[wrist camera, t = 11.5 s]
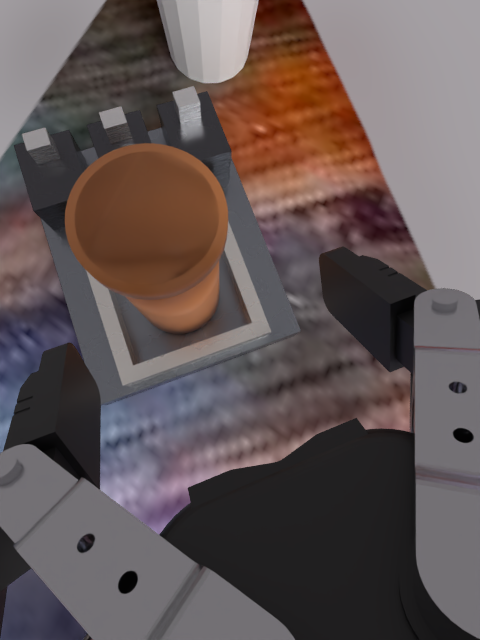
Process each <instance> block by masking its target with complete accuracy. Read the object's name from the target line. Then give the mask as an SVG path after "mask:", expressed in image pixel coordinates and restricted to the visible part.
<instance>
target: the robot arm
mask: <svg viewBox="0 0 480 640" xmlns="http://www.w3.org/2000/svg"><path fill="white" fill-rule="evenodd" d="M319 265H320V274H321V283H322V292H323V299H324V302H325V305H326V307H327V309H328V310H329V312H330V313H331V314H332V315H333V316H334V317H335V318H336V319H337V320H338V321H339V322H340V323H341V324H342V325H343V326H344V327H345V328H346V329H347V330H348V331H349V332H350V333H351V334H352V335H353V336H354V337H355V338H356V339H357V340H358V341H359V342H360V343H361V344H362V345H363V346H364V347H365V348H366V349H367V350H368V351H369V352H370V353H371V354H372V355H373V356H374V357H375V358H376V359H377V360H378V361H379V362H380V363H381V364H382V365H383V366H384V367H385V368H386V369H387V370H388V371H389V372H392V371H394V370H397V369H399V368H402V367H405V368H406V369H408V370H409V371H410V372H411V377H410V432H406V431H401V430H395V429H369V430H365V429H364V427H363V426H362V425H361V423H360V422H359V421H358V420H357V418H355V419H353V420H350V421H348V422H346V423H343V424H341V425H338V426H336V427H333V428H331V429H329V430H326V431H324V432H321V433H319V434H317V435H315V436H314V437H313V438H311V439H310V440H308V441H307V442H306V443H304V444H303V445H302V446H300V447H299V448H297V449H296V450H295V451H293V452H292V453H291V454H289V455H288V456H287V457H285V458H284V459H282V460H281V461H278V462H275V463H269V464H263V465H257V466H251V467H245V468H239V469H233V470H230V471H227V472H225V473H222V474H220V475H217V476H215V477H213V478H210V479H208V480H205V481H203V482H201V483H198V484H196V485H193V486H191V487H188V491H189V496H190V501H191V503H190V504H188V505H187V506H186V507H184V508H183V509H182V510H181V511H180V512H179V513H178V514H176V515H175V516H174V518H173V519H172V520H171V521H170V522H169V523H168V524H167V525H166V527H165V528H164V529H163V531H162V532H161V533H160V535H158V534H157V533H156V532H155V531H153V530H152V529H151V528H149V527H148V526H147V525H145V524H144V523H143V522H141V521H140V520H139V519H137V518H136V517H135V516H133V515H132V514H131V513H130V512H128V511H127V510H126V509H124V508H123V507H122V506H120V505H119V504H118V503H116V502H115V501H114V500H112V499H111V498H110V497H109V496H107V495H106V494H105V493H103V492H102V491H101V490H100V415H101V398H100V392H99V389H98V386H97V384H96V381H95V380H94V378H93V376H92V374H91V373H90V371H89V369H88V368H87V366H86V364H85V363H84V361H83V359H82V358H81V356H80V354H79V353H78V351H77V349H76V348H75V346H74V345H73V344H72V343H67V344H64V345H61V346H58V347H55V348H52V349H49V350H46V351H44V352H43V354H42V358H41V363H40V367H39V371H38V372H35V373H32V374H31V375H30V376H29V377H28V379H27V380H26V381H25V383H24V384H23V385H22V387H21V388H20V392H19V395H18V399H17V404H16V406H15V410H14V416H13V417H12V421H11V425H10V428H9V432H8V435H7V439H6V443H5V446H4V450H3V452H2V453H0V636H1V628H2V621H3V614H4V607H5V599H6V592H7V586H8V585H9V584H11V583H12V582H13V581H15V580H16V579H17V578H19V577H20V576H21V575H23V574H24V573H25V572H27V571H28V570H29V569H31V568H32V569H33V570H34V572H35V573H36V574H37V575H38V576H39V577H40V579H41V580H42V581H43V582H44V583H45V584H46V586H47V587H48V588H49V589H50V590H51V591H52V593H53V594H54V595H55V596H56V597H57V598H58V599H59V601H60V602H61V603H62V604H63V605H64V606H65V608H66V609H67V610H68V611H69V612H70V613H71V615H72V616H73V617H74V618H75V619H76V620H77V622H78V623H79V624H80V625H81V626H82V627H83V629H84V630H85V631H86V632H87V633H88V634H89V636H90V637H91V638H92V639H93V640H480V300H474V298H472V297H471V296H470V295H468V294H466V293H464V292H462V291H459V290H454V289H445V288H443V289H432V290H428V291H427V290H426V289H424V288H423V287H421V286H419V285H418V284H416V283H415V282H413V281H412V280H410V279H408V278H407V277H405V276H404V275H402V274H400V273H399V274H398V272H397V271H396V270H394V269H392V268H389V266H388V265H386V264H385V263H383V262H381V261H380V260H378V259H375V258H371V257H367V256H363V255H362V256H357V255H356V254H354V253H353V252H351V251H350V250H348V249H347V248H345V247H340V248H337V249H334V250H331V251H328V252H325V253H322V254H321V255H320V257H319Z"/></svg>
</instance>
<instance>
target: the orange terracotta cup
mask: <svg viewBox="0 0 480 640" xmlns="http://www.w3.org/2000/svg"><path fill="white" fill-rule="evenodd" d="M65 230H66V235H67V239H68V242H69V245H70V247H71V250H72V252H73V253H74V255H75V257H76V259H77V260H78V261H79V263H80V264H81V265H82V266H83V268H84V269H85V270H86V271H88V272H89V273H90V274H91V275H92V276H93V277H94V278H95V279H96V280H97V281H98V282H99V283H101V284H102V285H104V286H105V287H106V288H108V289H110V290H112V291H113V292H115V293H118V294H120V295H123V296H125V297H126V298H127V299H128V300H129V301H130V302H131V303H132V304H133V305H134V306H135V307H136V308H137V309H138V310H139V311H140V312H141V313H142V314H143V315H144V316H145V318H146V319H147V320H148V321H149V322H150V323H151V324H153V325H154V326H155V327H157V328H158V329H160V330H162V331H165V332H168V333H172V334H185V333H190V332H193V331H195V330H198V329H199V328H201V327H203V326H204V325H205V324H206V323H207V322H208V321H209V320H210V319H211V318H212V317H213V315H214V313H215V312H216V309H217V307H218V303H219V259H220V258H221V255H222V253H223V251H224V248H225V244H226V240H227V232H228V208H227V202H226V198H225V195H224V192H223V190H222V188H221V185H220V183H219V182H218V180H217V179H216V177H215V176H214V174H213V173H212V172H211V171H210V170H209V168H208V167H207V166H206V165H204V164H203V163H202V162H201V161H200V160H198V159H197V158H195V157H194V156H193V155H191V154H189V153H187V152H185V151H183V150H180V149H178V148H175V147H171V146H167V145H162V144H154V143H143V144H134V145H129V146H125V147H121V148H119V149H116V150H113V151H111V152H109V153H107V154H105V155H103V156H102V157H100V158H99V159H97V160H96V161H95V162H93V163H92V164H91V165H90V166H89V167H88V168H87V169H86V170H85V171H84V172H83V173H82V174H81V175H80V177H79V178H78V180H77V181H76V183H75V184H74V186H73V188H72V190H71V192H70V195H69V198H68V201H67V205H66V210H65Z"/></svg>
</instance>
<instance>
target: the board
mask: <svg viewBox="0 0 480 640" xmlns="http://www.w3.org/2000/svg"><path fill="white" fill-rule="evenodd" d="M172 93H173V100H174V101H170V102H167V103H163V104H160V105H157V109H158V114H159V118H160V123H161V128H158V129H155V130H151V131H148V132H147V129H146V126H145V124H144V121H143V118H142V116H141V113H140V110H138V111H135V112H131V113H128V114H124V113H123V110H122V107H117V108H113V109H110V110H106V111H103V112H99V115H100V117H101V120H102V121H99V122H96V123H92V124H88V125H87V127H88V130H89V133H90V136H91V139H92V142H93V145H94V147H92V148H89V149H85V150H82V151H81V150H80V149H79V147H78V145H77V143H76V142H75V140H74V138H73V136H72V135H71V133H70V131H69V130H67V131H63V132H60V133H56V134H53V135H50V134H49V132H48V131H47V129H46V128H41V129H38V130H34V131H30V132H27V133H23V134H22V136H23V140H24V143H21V144H17V145H14V148H15V151H16V154H17V158H18V161H19V164H20V168H21V171H22V174H23V177H24V181H25V184H26V187H27V191H28V194H29V197H30V201H31V204H32V207H33V211H34V212H35V213H36V214H37V215H38V216H39V217H40V218H41V221H42V224H43V227H44V231H45V234H46V237H47V241H48V244H49V247H50V250H51V254H52V257H53V260H54V264H55V267H56V270H57V273H58V277H59V280H60V283H61V287H62V290H63V293H64V296H65V300H66V303H67V306H68V310H69V313H70V316H71V319H72V323H73V326H74V329H75V333H76V336H77V339H78V342H79V346H80V349H81V352H82V356H83V359H84V362H85V364H86V366H87V368H88V369H89V371H90V373H91V374H92V376H93V378H94V380H95V381H96V384H97V386H98V389H99V392H100V398H101V405H108V404H111V403H114V402H116V401H119V400H122V399H124V398H127V397H130V396H133V395H135V394H138V393H141V392H143V391H146V390H149V389H152V388H154V387H157V386H160V385H162V384H165V383H168V382H171V381H173V380H176V379H179V378H181V377H184V376H187V375H190V374H192V373H195V372H198V371H200V370H203V369H206V368H209V367H211V366H214V365H217V364H219V363H222V362H225V361H228V360H230V359H233V358H236V357H238V356H241V355H244V354H247V353H249V352H252V351H255V350H257V349H260V348H263V347H266V346H268V345H271V344H274V343H276V342H279V341H282V340H285V339H287V338H290V337H293V336H295V335H296V334H297V333H299V332H300V331H301V330H300V328H299V325H298V323H297V320H296V318H295V315H294V313H293V310H292V308H291V305H290V303H289V300H288V298H287V295H286V293H285V290H284V288H283V285H282V283H281V280H280V278H279V275H278V273H277V270H276V268H275V266H274V263H273V261H272V258H271V256H270V253H269V251H268V248H267V246H266V243H265V241H264V238H263V236H262V233H261V231H260V228H259V226H258V223H257V221H256V218H255V216H254V213H253V211H252V208H251V206H250V203H249V201H248V198H247V196H246V193H245V191H244V188H243V186H242V183H241V181H240V178H239V176H238V173H237V171H236V168H235V166H234V163H233V161H232V159H231V149H230V147H229V144H228V142H227V139H226V137H225V134H224V132H223V129H222V127H221V124H220V122H219V119H218V117H217V114H216V112H215V109H214V107H213V104H212V102H211V99H210V97H209V94H208V92H207V91H206V92H202V93H199V94H197V93H196V90H195V88H194V86H193V87H189V88H185V89H182V90H178V91H175V92H172ZM143 143H154V144H162V145H167V146H171V147H175V148H178V149H180V150H183V151H185V152H187V153H189V154H191V155H193V156H194V157H195V158H197V159H198V160H200V161H201V162H202V163H203V164H204V165H206V166H207V167H208V168H209V170H210V171H211V172H212V173H213V174H214V176H215V177H216V179H217V180H218V182H219V183H220V185H221V188H222V190H223V192H224V195H225V198H226V202H227V208H228V232H227V240H226V244H225V248H224V251H223V253H222V255H221V258H220V259H219V303H218V307H217V309H216V312H215V313H214V315H213V317H212V318H211V319H210V320H209V321H208V322H207V323H206V324H205V325H204V326H203V327H201V328H199V329H198V330H195V331H193V332H190V333H185V334H172V333H168V332H165V331H162V330H160V329H158V328H157V327H155V326H154V325H153V324H151V323H150V322H149V321H148V320H147V319H146V318H145V316H144V315H143V314H142V313H141V312H140V311H139V310H138V309H137V308H136V307H135V306H134V305H133V304H132V303H131V302H130V301H129V300H128V299H127V298H126V297H125V296H123V295H120V294H118V293H115V292H113V291H112V290H110V289H108V288H106V287H105V286H104V285H102V284H101V283H99V282H98V281H97V280H96V279H95V278H94V277H93V276H92V275H91V274H90V273H89V272H88V271H86V270H85V269H84V268H83V266H82V265H81V264H80V263H79V261H78V260H77V259H76V257H75V255H74V253H73V252H72V250H71V247H70V245H69V242H68V239H67V235H66V230H65V210H66V205H67V201H68V198H69V195H70V192H71V190H72V188H73V186H74V184H75V183H76V181H77V180H78V178H79V177H80V175H81V174H82V173H83V172H84V171H85V170H86V169H87V168H88V167H89V166H90V165H91V164H92V163H93V162H95V161H96V160H97V159H99V158H100V157H102V156H103V155H105V154H107V153H109V152H111V151H113V150H116V149H119V148H121V147H125V146H129V145H134V144H143Z"/></svg>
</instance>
